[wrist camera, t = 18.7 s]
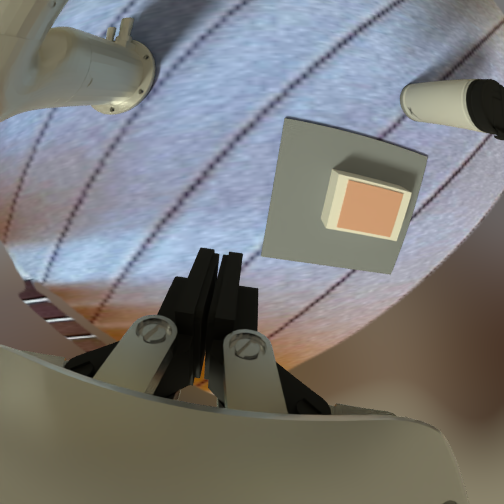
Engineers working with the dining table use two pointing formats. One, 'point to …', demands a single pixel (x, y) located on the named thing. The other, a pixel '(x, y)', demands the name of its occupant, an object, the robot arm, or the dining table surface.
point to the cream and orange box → (364, 205)
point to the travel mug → (457, 104)
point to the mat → (315, 189)
